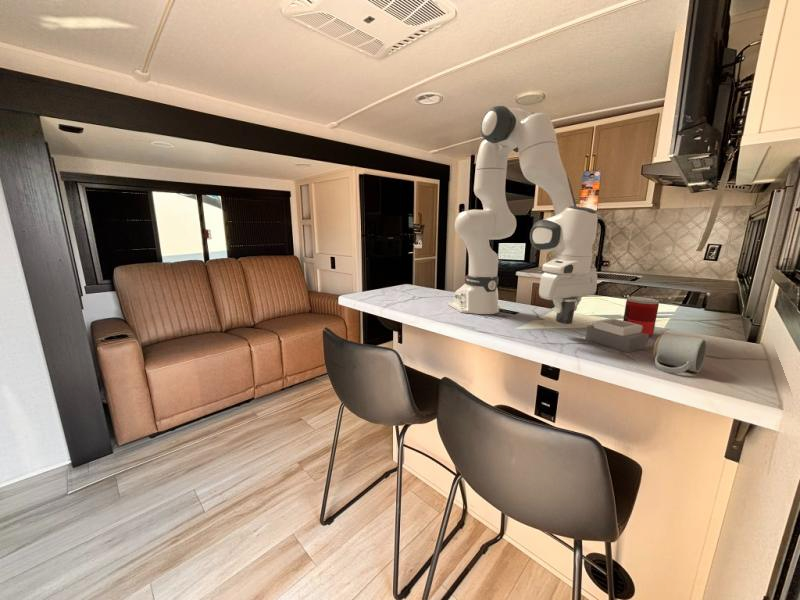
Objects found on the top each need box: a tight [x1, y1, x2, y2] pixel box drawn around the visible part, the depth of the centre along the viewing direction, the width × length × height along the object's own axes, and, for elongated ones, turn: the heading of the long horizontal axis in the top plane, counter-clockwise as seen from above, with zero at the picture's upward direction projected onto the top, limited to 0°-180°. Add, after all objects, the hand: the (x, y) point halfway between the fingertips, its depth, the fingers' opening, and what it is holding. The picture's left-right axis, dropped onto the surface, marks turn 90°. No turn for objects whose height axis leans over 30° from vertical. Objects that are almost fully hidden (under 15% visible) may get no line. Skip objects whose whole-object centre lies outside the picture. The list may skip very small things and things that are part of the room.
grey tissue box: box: [585, 317, 649, 353], centre depth 88 cm, size 12×8×6 cm, turn 24°
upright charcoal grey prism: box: [555, 297, 576, 325], centre depth 92 cm, size 5×5×8 cm
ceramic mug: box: [653, 333, 708, 374], centre depth 72 cm, size 11×8×8 cm
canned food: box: [622, 296, 660, 338], centre depth 97 cm, size 8×8×11 cm
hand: (565, 311), depth 92 cm, fingers closed on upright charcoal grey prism, 4 cm apart
